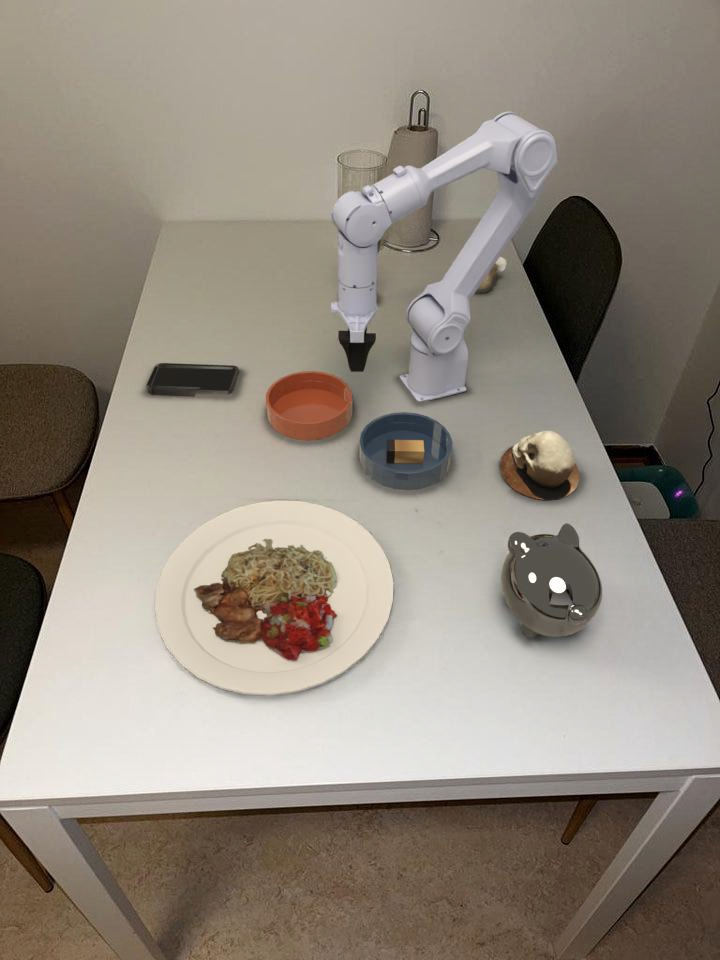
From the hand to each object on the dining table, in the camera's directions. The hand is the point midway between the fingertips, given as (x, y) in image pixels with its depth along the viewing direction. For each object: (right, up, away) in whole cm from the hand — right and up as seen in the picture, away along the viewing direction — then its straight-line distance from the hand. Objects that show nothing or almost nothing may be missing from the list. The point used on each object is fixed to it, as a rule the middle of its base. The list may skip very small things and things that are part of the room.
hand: (357, 356), depth 111 cm
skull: (+28, -19, -5) cm, 34 cm away
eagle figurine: (+27, +22, +37) cm, 51 cm away
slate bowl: (+7, -17, -4) cm, 19 cm away
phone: (-29, -3, +10) cm, 31 cm away
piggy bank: (+23, -37, -24) cm, 49 cm away
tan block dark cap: (+7, -16, -4) cm, 19 cm away
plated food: (-10, -35, -22) cm, 42 cm away
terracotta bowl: (-8, -9, +4) cm, 13 cm away
